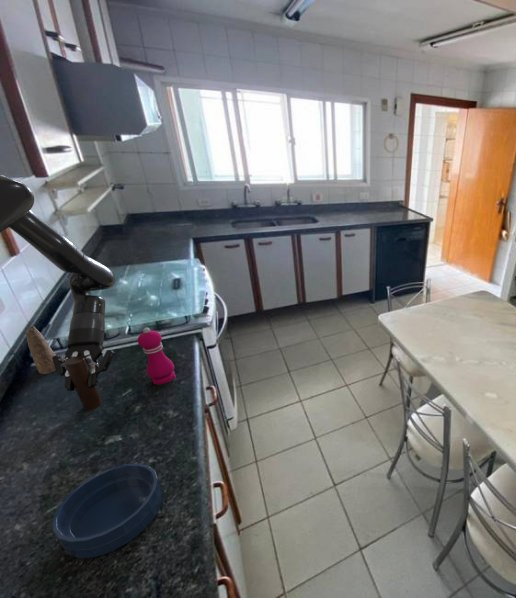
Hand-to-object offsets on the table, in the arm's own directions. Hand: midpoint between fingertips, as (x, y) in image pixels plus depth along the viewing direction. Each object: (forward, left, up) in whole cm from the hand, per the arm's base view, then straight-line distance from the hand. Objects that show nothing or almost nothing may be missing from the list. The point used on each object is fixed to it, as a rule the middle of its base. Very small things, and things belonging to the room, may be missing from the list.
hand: (81, 388), depth 92 cm
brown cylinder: (0, +2, -8) cm, 8 cm away
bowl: (+15, -39, -8) cm, 43 cm away
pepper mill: (+17, +8, -8) cm, 20 cm away
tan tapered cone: (-15, +22, -8) cm, 28 cm away
